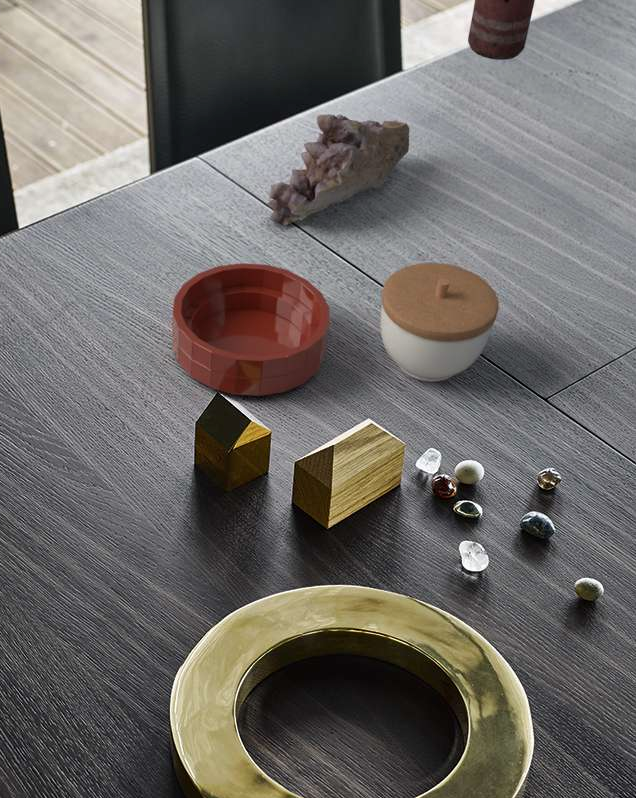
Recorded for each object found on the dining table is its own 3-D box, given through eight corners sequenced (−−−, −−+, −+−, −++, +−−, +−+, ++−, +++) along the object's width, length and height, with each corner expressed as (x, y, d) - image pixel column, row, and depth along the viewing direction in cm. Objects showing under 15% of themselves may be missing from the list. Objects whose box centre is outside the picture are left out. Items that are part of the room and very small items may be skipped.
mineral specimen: (347, 210, 128) (302, 121, 126) (276, 246, 135) (232, 162, 133) (431, 157, 143) (391, 77, 141) (363, 192, 150) (324, 116, 148)
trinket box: (417, 412, 116) (434, 331, 109) (350, 346, 122) (361, 267, 115) (505, 375, 120) (527, 296, 113) (436, 314, 126) (452, 235, 119)
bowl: (342, 326, 124) (348, 285, 120) (297, 419, 114) (301, 377, 111) (204, 290, 127) (206, 249, 123) (148, 377, 117) (148, 335, 114)
